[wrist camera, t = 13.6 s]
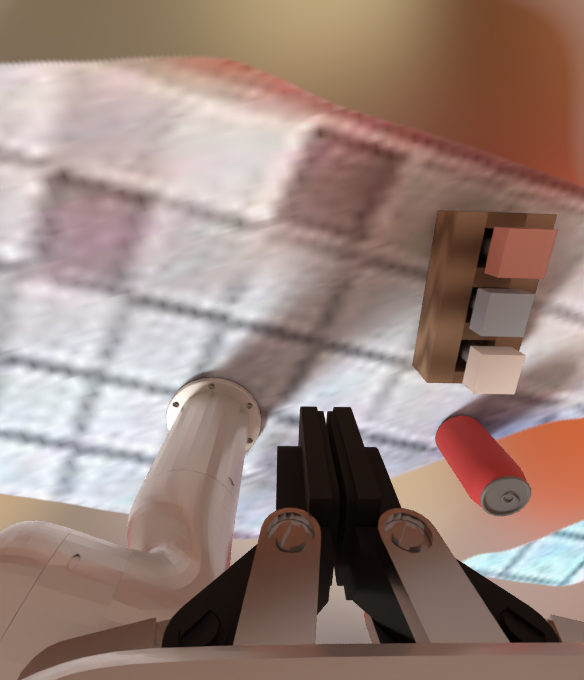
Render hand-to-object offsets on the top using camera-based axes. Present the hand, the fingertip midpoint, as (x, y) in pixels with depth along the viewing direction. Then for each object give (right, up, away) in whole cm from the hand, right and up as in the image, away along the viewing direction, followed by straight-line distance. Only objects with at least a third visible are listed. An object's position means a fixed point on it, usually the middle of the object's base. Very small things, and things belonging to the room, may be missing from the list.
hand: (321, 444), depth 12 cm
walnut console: (+20, +9, +31) cm, 38 cm away
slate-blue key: (+20, +8, +30) cm, 37 cm away
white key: (+20, +3, +31) cm, 37 cm away
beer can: (+22, -10, +39) cm, 46 cm away
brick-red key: (+20, +14, +28) cm, 37 cm away
